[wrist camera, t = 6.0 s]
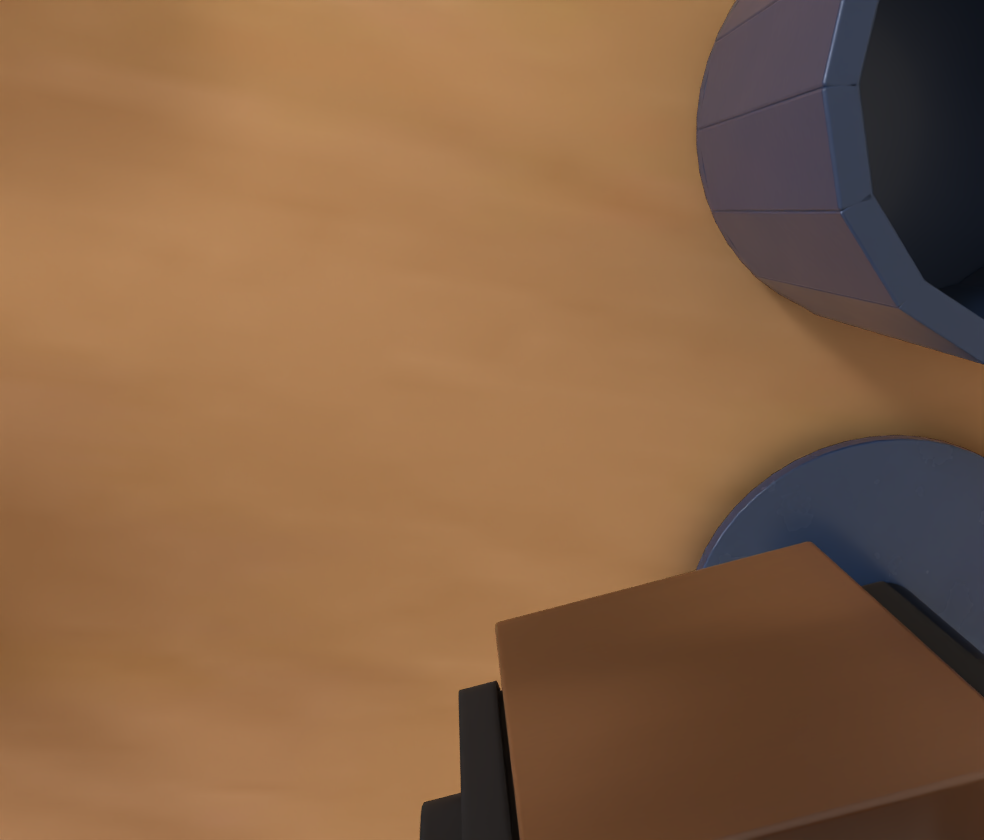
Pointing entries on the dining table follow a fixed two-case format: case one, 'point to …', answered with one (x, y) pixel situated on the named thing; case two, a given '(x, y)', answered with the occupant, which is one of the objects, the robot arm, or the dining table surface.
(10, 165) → the dining table surface
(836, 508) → the pot lid
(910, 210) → the pot
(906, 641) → the block
